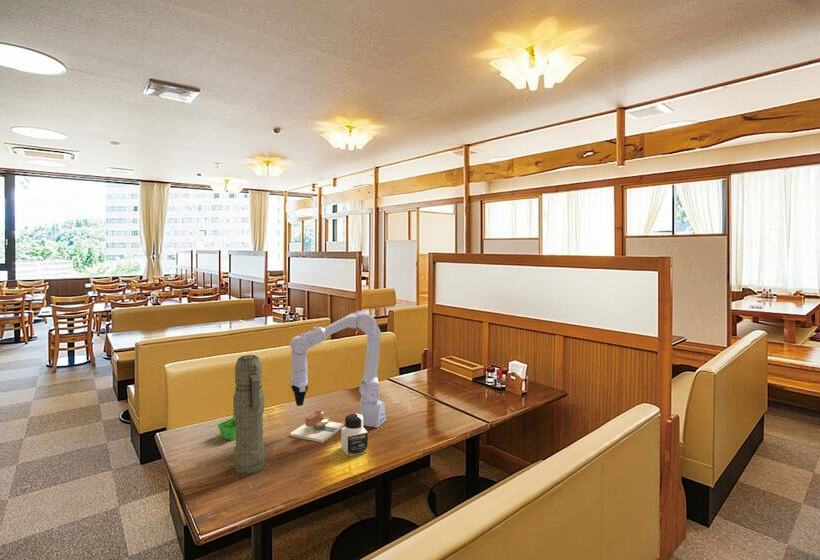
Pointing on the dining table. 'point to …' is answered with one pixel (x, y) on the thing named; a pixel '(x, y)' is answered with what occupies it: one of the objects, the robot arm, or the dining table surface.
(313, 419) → the lever handle
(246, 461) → the thermos
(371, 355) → the robot arm
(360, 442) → the medicine bottle
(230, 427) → the fruit basket
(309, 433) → the board
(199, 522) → the dining table surface
